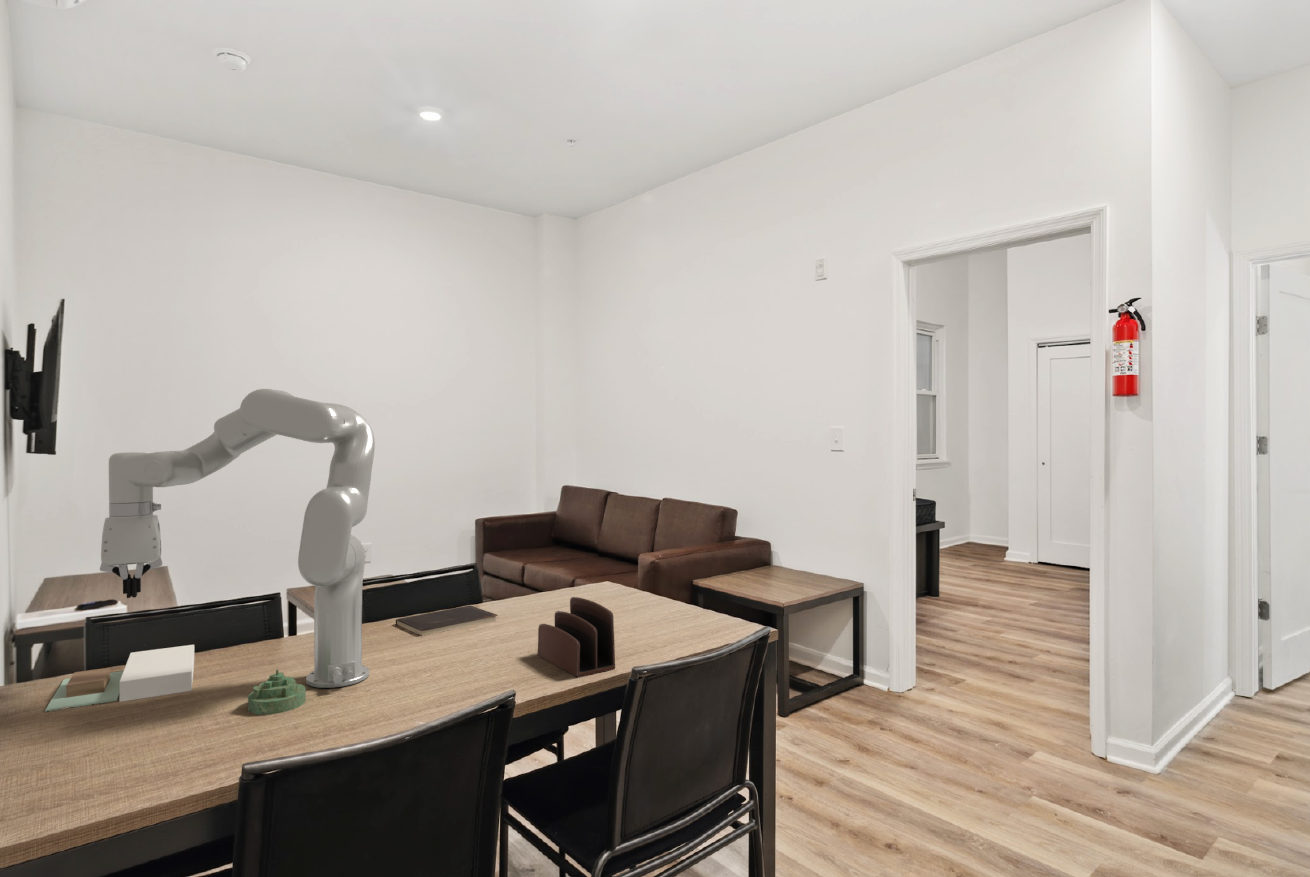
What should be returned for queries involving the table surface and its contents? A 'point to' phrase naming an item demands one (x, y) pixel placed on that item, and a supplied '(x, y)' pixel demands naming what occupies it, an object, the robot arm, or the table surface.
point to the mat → (84, 700)
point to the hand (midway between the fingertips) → (132, 596)
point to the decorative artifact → (276, 695)
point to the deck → (157, 673)
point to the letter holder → (580, 639)
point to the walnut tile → (88, 682)
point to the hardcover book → (446, 620)
